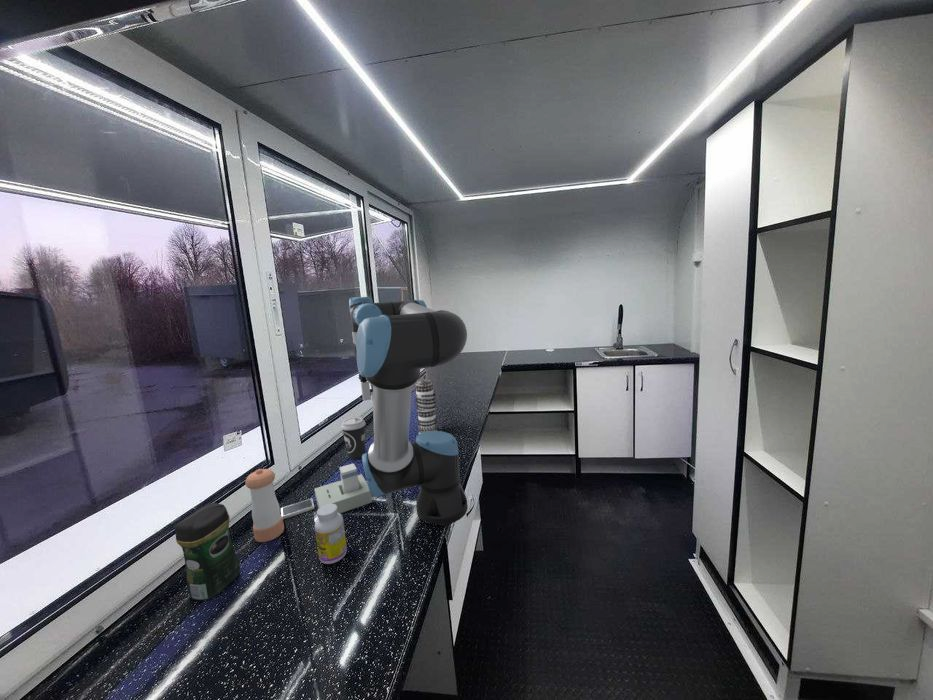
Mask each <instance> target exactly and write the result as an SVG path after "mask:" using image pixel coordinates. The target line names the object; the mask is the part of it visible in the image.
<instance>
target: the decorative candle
mask: <svg viewBox="0 0 933 700" xmlns="http://www.w3.org/2000/svg"><path fill="white" fill-rule="evenodd" d="M433 384H434V382H433V381H431V379H429V378H423V379H418V381H417V382H416V383H415V384H414V385H415V388H416V390H415V391H416V393H415V395H414V397H415V399H414V400H415V402H416V403H415V406H416V411H417V412H418V415H417V416H418V419H417V425H418V427H417V428H418V435H419V434H421V433H422V432H426V431H438V424H437V423H438V422H437V416H436V411H435V409H436V405H435V404H436V397H435V396H436V392H435V389H434V385H433Z"/></svg>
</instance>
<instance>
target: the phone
mask: <svg viewBox="0 0 933 700" xmlns="http://www.w3.org/2000/svg"><path fill="white" fill-rule="evenodd" d="M315 509H316V507H315V504H314V500H313V497H311V498H308V499H306V500H302V501H298V502H295V503H292V504H290V505H286V506H283V507H281V508H280V515H281V516H282V517H283V520H285V519H289V518H292V517H294V516H298V515H301V514H304V513H308V512H310V511H312V510H315Z"/></svg>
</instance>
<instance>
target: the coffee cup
mask: <svg viewBox="0 0 933 700" xmlns="http://www.w3.org/2000/svg"><path fill="white" fill-rule="evenodd" d="M365 426H366V421H365V420H364V418H363V417H360V416H355V417H354V416H353V417H349V418H346V419H344V420H343V421H342V423H341V425H340V429H341V430H342V435H343V437H344V438H343V439H344V443H345V448H346V452H347V456H348V457H347V458H348V459H349V460H359V459H362V455H363V454H365V453H366V440H365V439H366V434H365V433H366V430H365Z"/></svg>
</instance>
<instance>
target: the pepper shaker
mask: <svg viewBox="0 0 933 700" xmlns="http://www.w3.org/2000/svg"><path fill="white" fill-rule="evenodd" d="M275 478H276V473H275V472H274V471H273V470H272V469H269V468H263V469H262V468H258V469H256V470H255V471H254V472H251V473H250V474H249V475H248V476H247V477H246V479H245V486H246V487H247V489H249V491H250V496H251V518H252V521H253V524H252V531H253V536H254V541H256V542H257V543H265V542H269V541H272V540H274V539H276V538H278V537H279V536H281V534H282V533H284V531H285V523H284V519H283V517H282V516H281V508H280V504H279V501H278V499H277V497H276V492H275V488H274V487H275V486H274V481H275Z"/></svg>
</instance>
